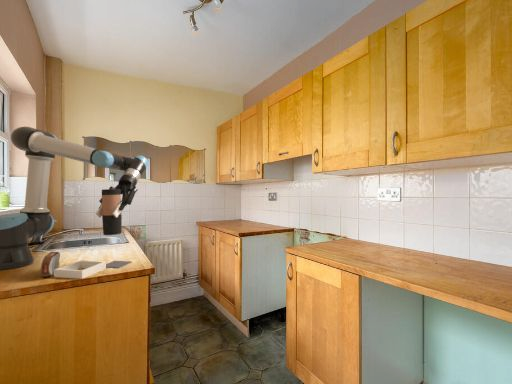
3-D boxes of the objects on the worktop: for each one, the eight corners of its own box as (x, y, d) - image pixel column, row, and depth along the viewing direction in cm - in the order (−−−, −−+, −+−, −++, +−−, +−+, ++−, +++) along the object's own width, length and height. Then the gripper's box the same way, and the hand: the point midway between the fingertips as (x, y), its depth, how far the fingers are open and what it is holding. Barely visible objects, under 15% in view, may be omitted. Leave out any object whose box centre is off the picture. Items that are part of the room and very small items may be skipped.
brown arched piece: (52, 269, 112) (52, 249, 112) (61, 268, 113) (61, 249, 113) (40, 280, 98) (39, 258, 98) (50, 279, 100) (49, 257, 100)
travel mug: (107, 235, 111) (105, 189, 110) (99, 234, 115) (98, 189, 115) (125, 233, 117) (123, 189, 116) (117, 231, 121) (116, 189, 121)
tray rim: (54, 277, 102) (53, 269, 101) (80, 267, 114) (80, 260, 114) (82, 278, 100) (82, 270, 100) (106, 268, 112) (105, 261, 112)
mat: (100, 267, 114) (100, 266, 114) (114, 261, 123) (114, 260, 123) (118, 268, 112) (118, 267, 112) (131, 262, 121) (131, 261, 121)
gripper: (151, 184, 129) (131, 220, 113) (115, 185, 132) (91, 220, 117) (144, 173, 124) (122, 210, 108) (107, 174, 127) (80, 210, 111)
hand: (106, 215), depth 112 cm, fingers closed on travel mug, 7 cm apart
